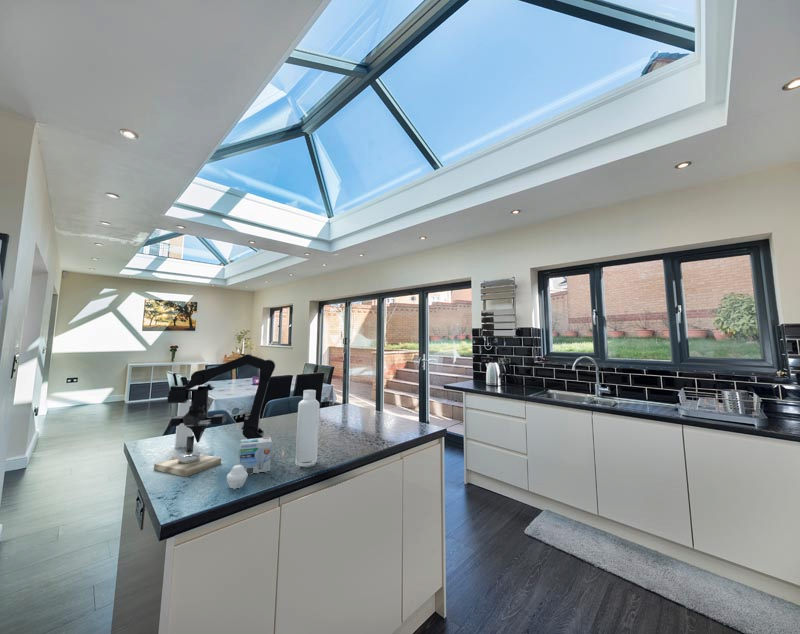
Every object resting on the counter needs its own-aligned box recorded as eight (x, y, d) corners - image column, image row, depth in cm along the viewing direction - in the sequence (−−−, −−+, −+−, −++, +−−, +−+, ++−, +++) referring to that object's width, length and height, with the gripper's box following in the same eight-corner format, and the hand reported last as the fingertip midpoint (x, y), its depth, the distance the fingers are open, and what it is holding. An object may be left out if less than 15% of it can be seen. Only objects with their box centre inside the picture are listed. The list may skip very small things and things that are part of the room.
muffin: (244, 490, 102) (245, 467, 102) (222, 492, 101) (224, 468, 101) (249, 482, 108) (250, 460, 108) (229, 483, 107) (230, 461, 107)
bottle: (321, 462, 128) (324, 390, 131) (307, 469, 121) (311, 392, 123) (305, 459, 131) (308, 388, 134) (290, 465, 124) (294, 390, 127)
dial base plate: (220, 463, 125) (221, 457, 125) (186, 476, 111) (186, 470, 112) (189, 457, 130) (189, 452, 130) (152, 469, 117) (153, 463, 117)
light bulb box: (238, 476, 113) (240, 444, 114) (237, 469, 119) (239, 439, 120) (271, 471, 118) (272, 441, 119) (269, 465, 123) (270, 436, 124)
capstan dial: (200, 461, 120) (201, 442, 120) (177, 464, 116) (178, 444, 117) (199, 452, 130) (201, 434, 130) (178, 455, 126) (180, 436, 126)
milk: (175, 448, 141) (179, 396, 142) (174, 445, 145) (178, 394, 147) (192, 446, 144) (195, 395, 146) (190, 442, 149) (194, 393, 151)
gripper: (162, 406, 120) (160, 450, 119) (217, 404, 123) (215, 447, 122) (177, 401, 131) (175, 441, 129) (227, 399, 134) (226, 438, 133)
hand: (198, 442), depth 128 cm, fingers closed
